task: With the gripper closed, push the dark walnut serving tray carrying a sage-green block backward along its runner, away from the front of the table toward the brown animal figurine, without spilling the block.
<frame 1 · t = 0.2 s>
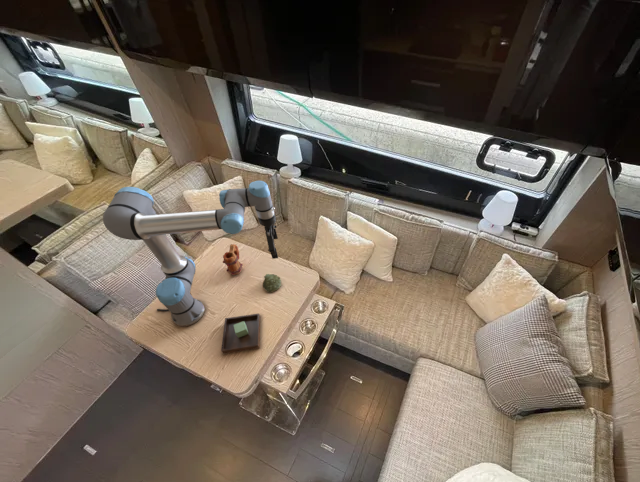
hand: (275, 248, 138), 28 cm above the table, tool pointing down, fingers open, 13 cm apart
green bumpy lump: (271, 284, 158), on the table
block: (242, 331, 137), point 1 cm above the table, touching tray
tray: (241, 332, 136), point 2 cm above the table, slide at 0.0 cm, touching block
brown animal figurine: (237, 268, 165), on the table
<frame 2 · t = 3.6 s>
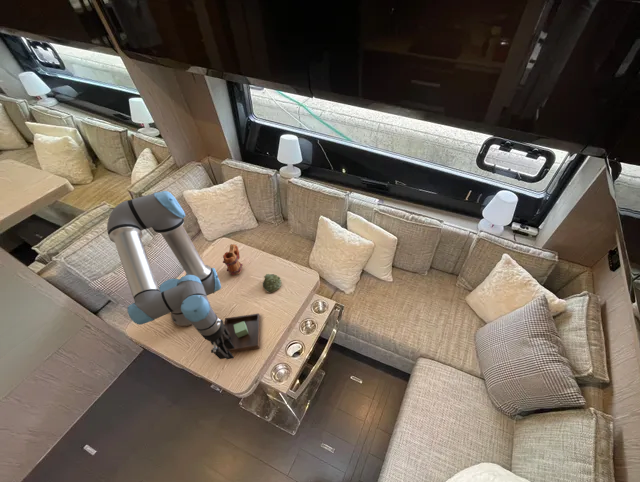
hand: (230, 353, 116), 15 cm above the table, tool pointing down, fingers open, 4 cm apart
nothing on the table moved.
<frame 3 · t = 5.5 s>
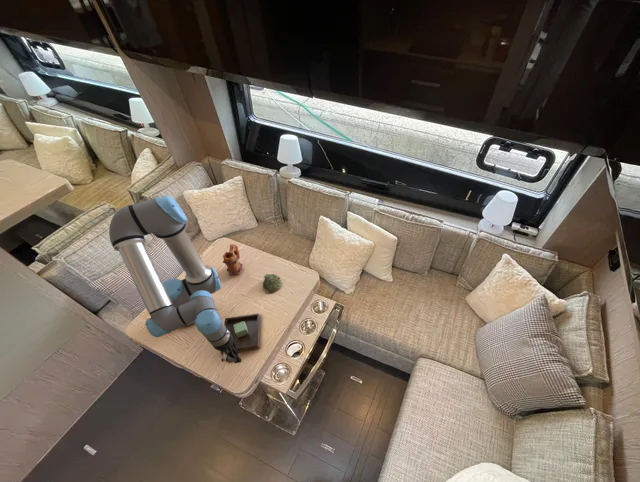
hand: (238, 361, 125), 4 cm above the table, tool pointing down, fingers closed
nothing on the table moved.
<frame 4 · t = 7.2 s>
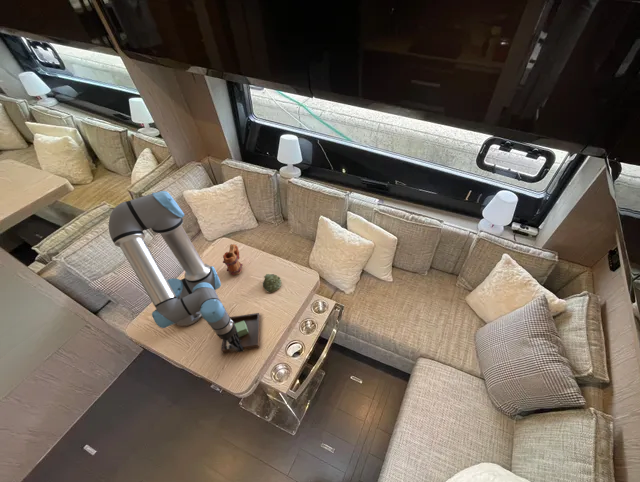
hand: (240, 350, 130), 2 cm above the table, tool pointing down, fingers closed
tray: (241, 332, 136), point 2 cm above the table, slide at 0.3 cm, touching block, gripper
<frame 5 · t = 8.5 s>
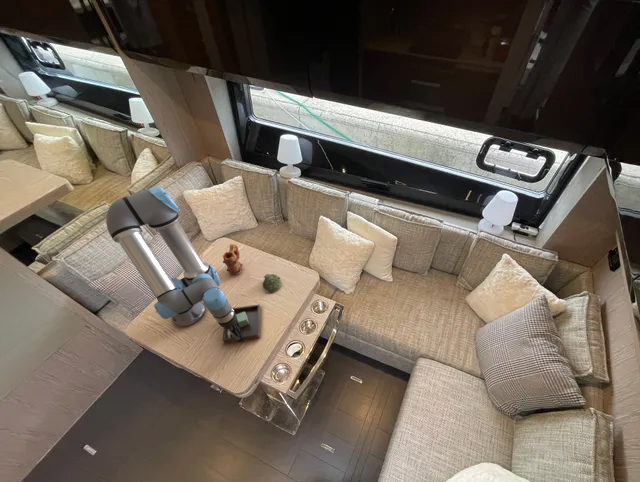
hand: (241, 340, 133), 2 cm above the table, tool pointing down, fingers closed
block: (243, 322, 141), point 1 cm above the table, touching tray
tray: (242, 323, 140), point 2 cm above the table, slide at 5.5 cm, touching block, gripper
everything else where it was.
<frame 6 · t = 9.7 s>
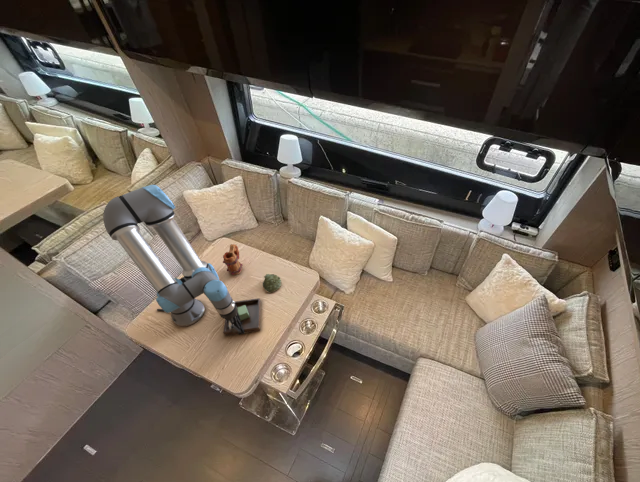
hand: (241, 332, 136), 2 cm above the table, tool pointing down, fingers closed
block: (243, 315, 143), point 1 cm above the table, touching tray
tray: (243, 316, 142), point 2 cm above the table, slide at 9.5 cm, touching block, gripper
everything else where it was.
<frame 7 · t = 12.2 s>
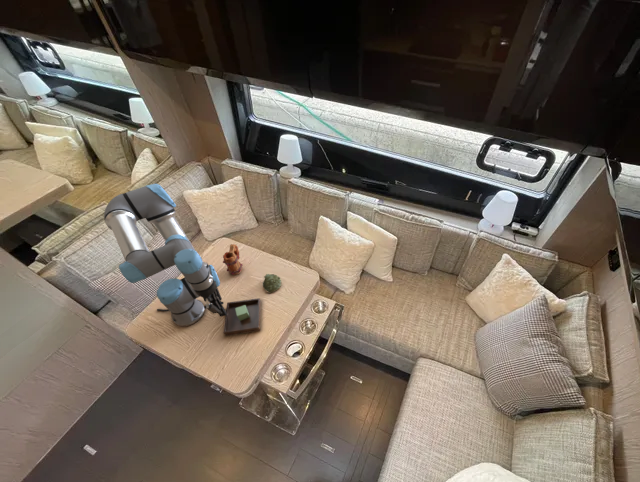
hand: (223, 314, 121), 21 cm above the table, tool pointing down, fingers closed
tray: (243, 316, 142), point 2 cm above the table, slide at 9.5 cm, touching block
everything else where it was.
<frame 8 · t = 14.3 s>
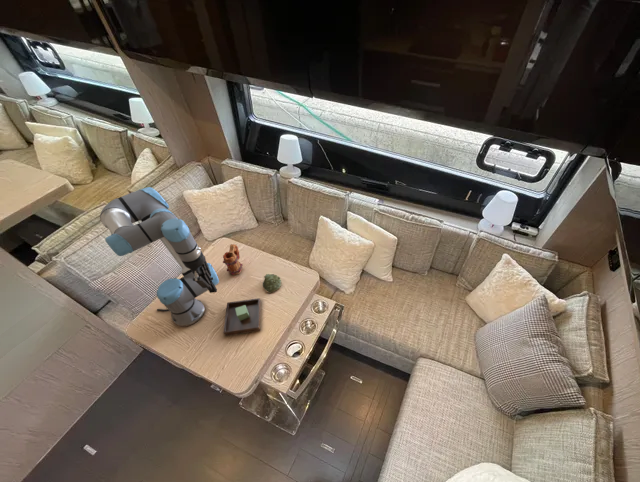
hand: (213, 291, 122), 26 cm above the table, tool pointing down, fingers closed
nothing on the table moved.
at the end: tray slide at 9.5 cm; tray 36.0 cm from the brown animal figurine (horizontally); block touching tray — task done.
